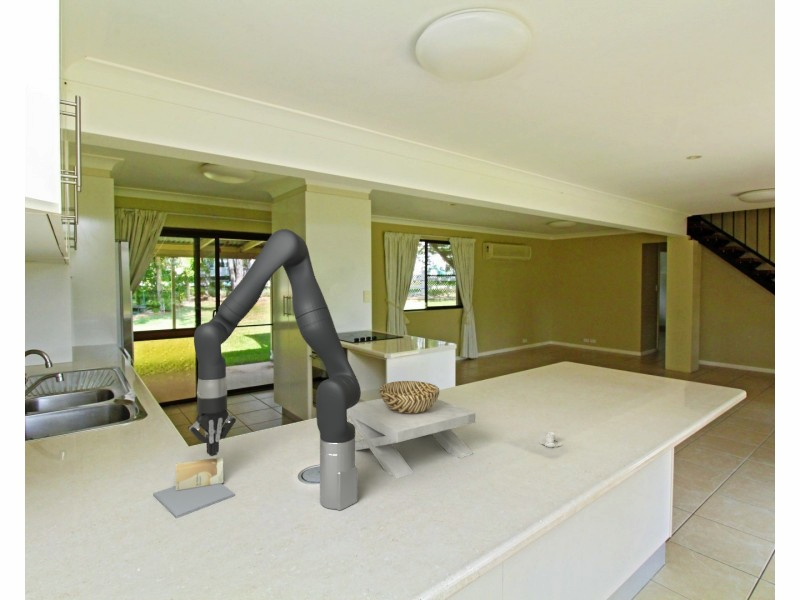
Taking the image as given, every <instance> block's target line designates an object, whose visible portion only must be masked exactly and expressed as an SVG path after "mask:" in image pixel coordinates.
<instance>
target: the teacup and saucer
mask: <svg viewBox="0 0 800 600" xmlns="http://www.w3.org/2000/svg"><path fill="white" fill-rule="evenodd" d="M545 439H546V441H544V445H545V446H544V447H546V446H547V447H546V448H552V447H555V446H556V443H555V442H554V440H556V433H555V432H552V431H547V432H545Z"/></svg>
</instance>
